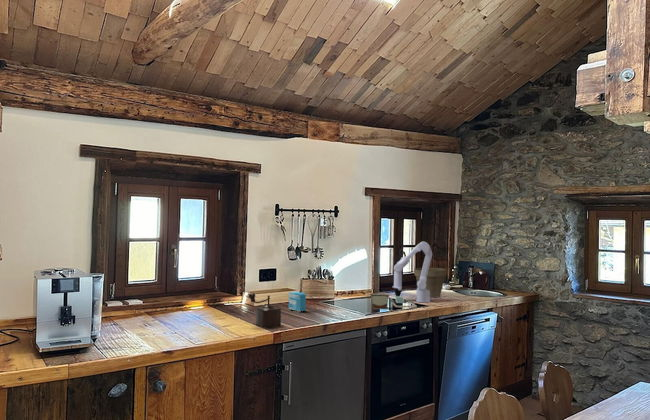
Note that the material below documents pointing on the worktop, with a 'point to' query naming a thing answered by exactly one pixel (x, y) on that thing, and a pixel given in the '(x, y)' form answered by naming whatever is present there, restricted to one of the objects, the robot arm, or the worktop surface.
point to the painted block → (399, 299)
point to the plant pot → (433, 280)
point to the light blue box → (297, 301)
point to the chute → (402, 306)
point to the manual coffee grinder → (266, 313)
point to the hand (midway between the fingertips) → (397, 298)
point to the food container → (380, 300)
